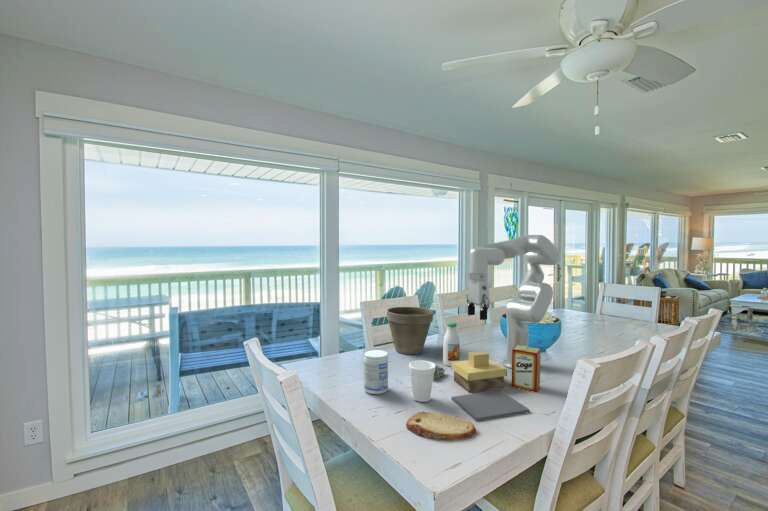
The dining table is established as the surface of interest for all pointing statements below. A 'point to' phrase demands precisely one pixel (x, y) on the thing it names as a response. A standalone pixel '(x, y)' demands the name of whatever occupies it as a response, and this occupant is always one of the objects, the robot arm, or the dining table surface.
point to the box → (479, 383)
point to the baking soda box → (526, 368)
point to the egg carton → (438, 372)
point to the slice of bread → (440, 426)
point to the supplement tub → (376, 372)
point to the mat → (489, 405)
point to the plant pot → (409, 328)
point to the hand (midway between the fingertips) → (477, 317)
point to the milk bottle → (451, 345)
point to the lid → (478, 367)
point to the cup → (422, 379)
